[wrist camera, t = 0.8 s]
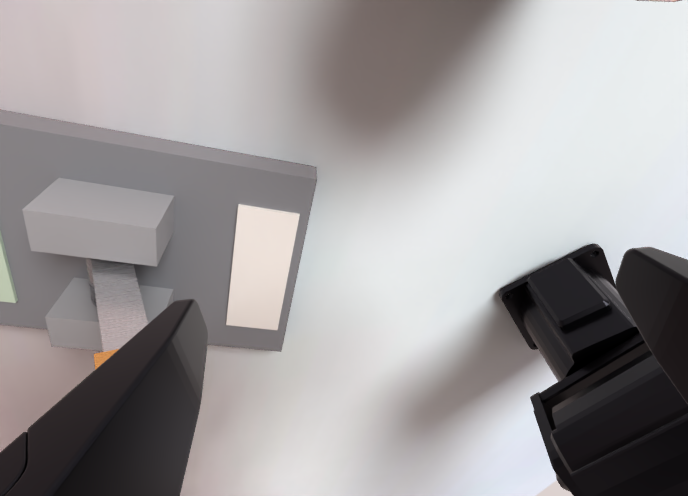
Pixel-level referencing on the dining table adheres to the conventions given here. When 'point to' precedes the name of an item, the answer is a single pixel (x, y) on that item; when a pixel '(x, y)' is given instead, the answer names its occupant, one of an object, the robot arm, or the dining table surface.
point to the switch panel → (152, 172)
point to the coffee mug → (660, 0)
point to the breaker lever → (115, 304)
